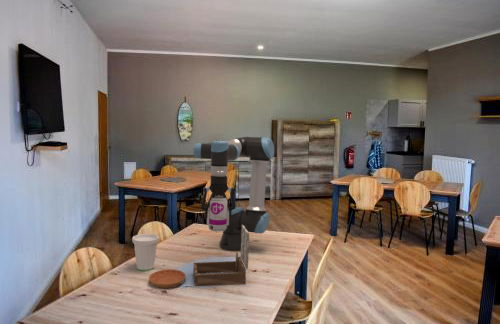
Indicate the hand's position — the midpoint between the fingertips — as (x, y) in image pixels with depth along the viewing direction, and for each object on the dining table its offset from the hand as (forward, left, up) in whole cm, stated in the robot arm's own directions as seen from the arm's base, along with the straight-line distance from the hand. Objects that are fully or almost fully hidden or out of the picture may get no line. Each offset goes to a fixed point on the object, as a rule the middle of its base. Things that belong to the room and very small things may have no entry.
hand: (217, 224), depth 171 cm
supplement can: (0, 0, -2) cm, 2 cm away
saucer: (+1, -22, -26) cm, 34 cm away
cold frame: (0, +1, -25) cm, 25 cm away
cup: (-17, -33, -26) cm, 45 cm away
